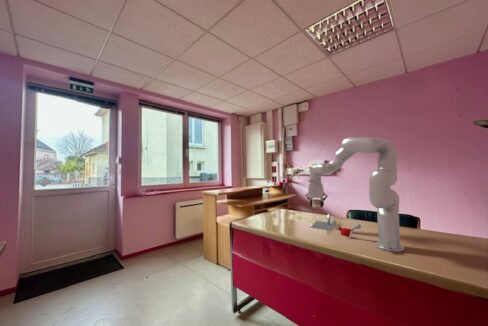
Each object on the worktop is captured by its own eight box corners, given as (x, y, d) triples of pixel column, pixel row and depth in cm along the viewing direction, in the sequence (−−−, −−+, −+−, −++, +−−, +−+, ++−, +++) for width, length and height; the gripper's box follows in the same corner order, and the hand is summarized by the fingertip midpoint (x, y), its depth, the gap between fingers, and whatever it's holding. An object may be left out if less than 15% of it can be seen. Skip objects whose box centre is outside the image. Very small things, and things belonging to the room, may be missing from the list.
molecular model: (329, 235, 130) (329, 220, 131) (332, 233, 135) (331, 218, 135) (360, 241, 119) (359, 224, 119) (362, 238, 123) (361, 222, 124)
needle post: (330, 224, 149) (330, 213, 150) (327, 224, 151) (327, 213, 151) (331, 224, 151) (330, 213, 151) (328, 223, 152) (327, 213, 152)
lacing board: (332, 232, 136) (332, 230, 136) (309, 229, 144) (309, 227, 144) (337, 225, 153) (336, 223, 153) (316, 222, 161) (316, 221, 161)
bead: (320, 208, 141) (320, 200, 141) (311, 207, 144) (310, 200, 144) (322, 206, 146) (322, 199, 146) (313, 206, 149) (313, 199, 150)
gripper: (302, 182, 147) (303, 206, 146) (327, 181, 138) (328, 208, 137) (305, 181, 153) (306, 205, 153) (329, 181, 144) (330, 206, 143)
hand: (316, 206), depth 145 cm, fingers closed on bead, 6 cm apart
